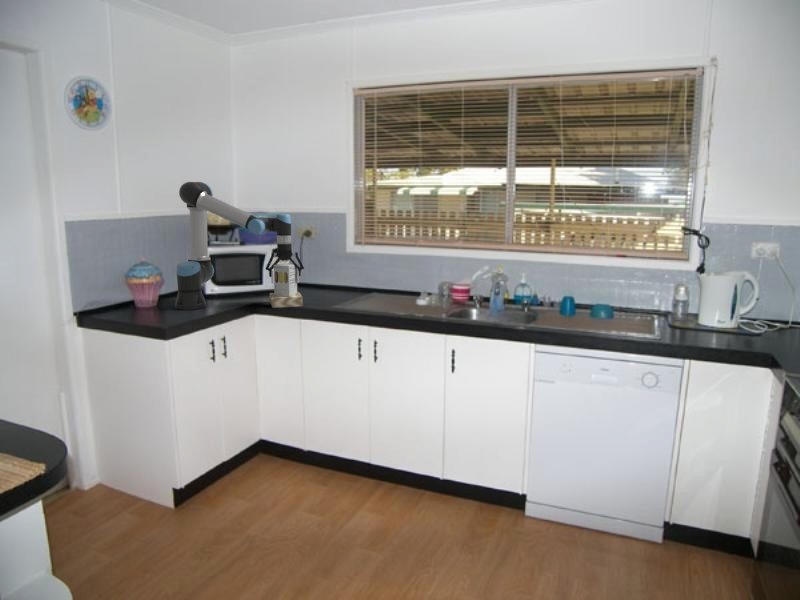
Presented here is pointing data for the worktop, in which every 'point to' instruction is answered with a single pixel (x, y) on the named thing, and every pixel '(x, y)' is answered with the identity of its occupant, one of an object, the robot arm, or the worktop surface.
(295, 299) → the block
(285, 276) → the supplement box
